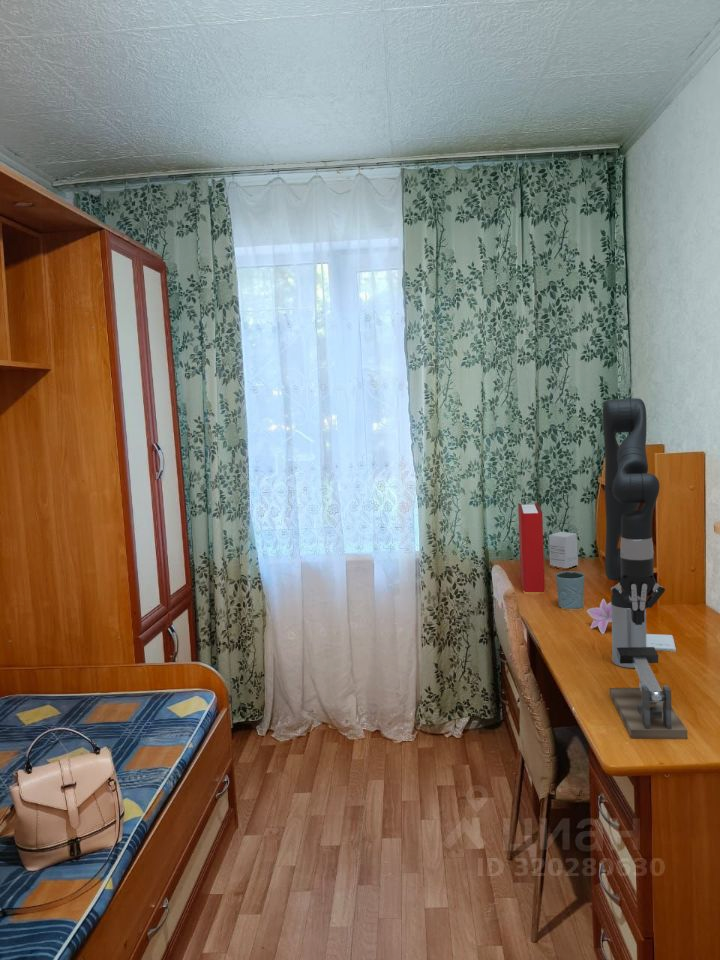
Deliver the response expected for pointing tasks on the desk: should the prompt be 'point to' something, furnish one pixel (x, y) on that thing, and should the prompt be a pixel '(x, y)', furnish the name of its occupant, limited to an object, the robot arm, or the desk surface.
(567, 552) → the supplement box
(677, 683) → the desk surface
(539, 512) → the book
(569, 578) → the blue plant pot
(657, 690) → the lever
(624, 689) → the base
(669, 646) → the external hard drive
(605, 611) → the lily
